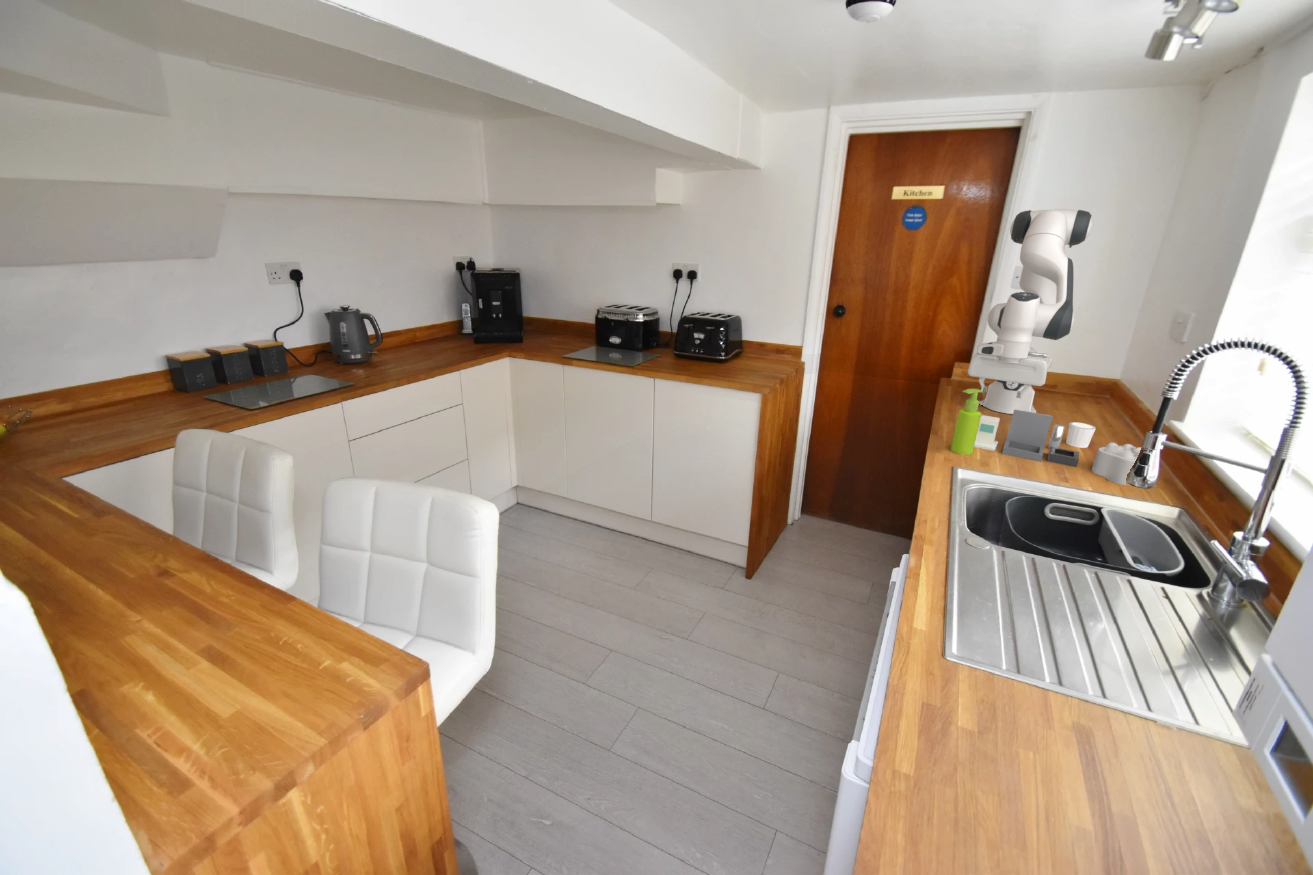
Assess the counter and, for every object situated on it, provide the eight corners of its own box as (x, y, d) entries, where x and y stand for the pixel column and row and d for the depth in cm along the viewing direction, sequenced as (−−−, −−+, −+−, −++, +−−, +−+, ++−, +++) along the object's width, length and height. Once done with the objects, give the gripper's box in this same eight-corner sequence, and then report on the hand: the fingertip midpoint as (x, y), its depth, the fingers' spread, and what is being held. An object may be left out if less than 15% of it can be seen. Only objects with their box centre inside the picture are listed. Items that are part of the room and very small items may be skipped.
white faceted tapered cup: (1066, 440, 185) (1072, 420, 183) (1091, 446, 181) (1098, 425, 178) (1060, 445, 181) (1067, 425, 178) (1087, 451, 176) (1093, 430, 174)
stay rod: (1047, 447, 179) (1054, 423, 176) (1058, 449, 177) (1065, 425, 174) (1047, 450, 177) (1054, 426, 174) (1057, 452, 175) (1065, 428, 172)
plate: (972, 440, 184) (973, 436, 183) (997, 445, 180) (998, 441, 180) (968, 447, 178) (969, 443, 177) (994, 452, 174) (995, 449, 173)
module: (976, 438, 182) (981, 414, 179) (994, 442, 179) (1000, 418, 176) (973, 443, 178) (979, 419, 175) (992, 447, 175) (998, 422, 172)
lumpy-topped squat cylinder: (1085, 472, 161) (1094, 443, 158) (1112, 465, 167) (1121, 437, 164) (1126, 487, 153) (1136, 457, 150) (1153, 479, 158) (1163, 450, 155)
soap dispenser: (943, 451, 174) (957, 387, 167) (959, 448, 177) (973, 385, 170) (959, 458, 169) (974, 393, 162) (976, 455, 172) (991, 391, 165)
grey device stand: (1004, 445, 180) (1014, 409, 175) (1042, 453, 174) (1052, 415, 170) (1001, 455, 172) (1011, 417, 168) (1040, 463, 167) (1051, 424, 162)
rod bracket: (1047, 455, 172) (1050, 446, 171) (1076, 461, 169) (1078, 451, 168) (1046, 463, 167) (1049, 453, 166) (1075, 468, 163) (1078, 459, 162)
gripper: (1054, 352, 165) (1042, 398, 170) (975, 343, 176) (966, 387, 181) (1053, 356, 160) (1040, 403, 165) (972, 346, 171) (962, 391, 176)
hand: (1001, 395), depth 173 cm, fingers open, 8 cm apart
